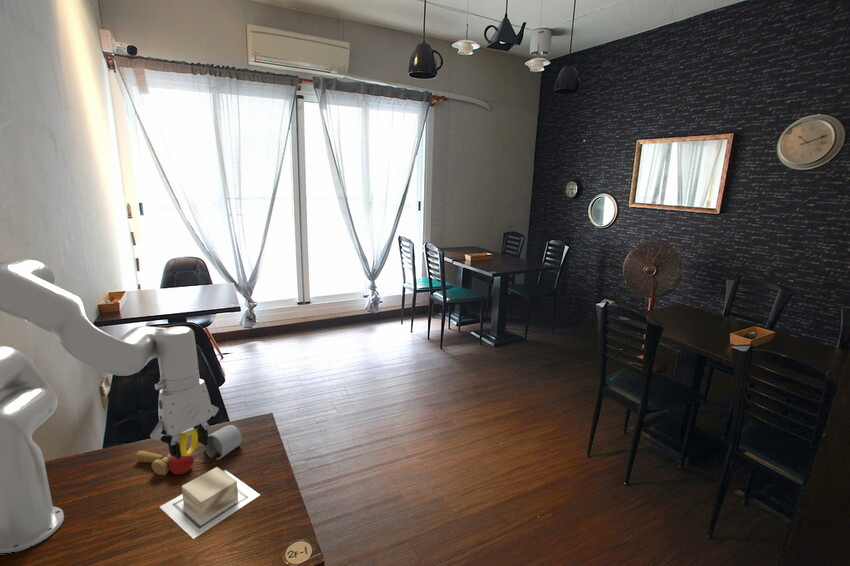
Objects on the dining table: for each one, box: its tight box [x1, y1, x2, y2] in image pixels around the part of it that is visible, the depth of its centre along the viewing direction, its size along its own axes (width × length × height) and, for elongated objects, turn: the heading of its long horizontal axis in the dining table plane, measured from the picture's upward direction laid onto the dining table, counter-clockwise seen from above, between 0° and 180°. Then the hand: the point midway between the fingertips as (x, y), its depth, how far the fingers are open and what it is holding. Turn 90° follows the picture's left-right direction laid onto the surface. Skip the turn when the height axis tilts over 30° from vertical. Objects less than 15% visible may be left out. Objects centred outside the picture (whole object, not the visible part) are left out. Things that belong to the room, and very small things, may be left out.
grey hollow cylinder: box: [203, 424, 243, 460], centre depth 123 cm, size 11×8×8 cm
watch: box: [179, 427, 199, 456], centre depth 98 cm, size 6×3×6 cm, turn 2°
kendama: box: [134, 450, 195, 476], centre depth 115 cm, size 8×6×18 cm
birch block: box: [181, 466, 238, 520], centre depth 103 cm, size 9×9×5 cm
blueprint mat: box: [159, 469, 261, 540], centre depth 104 cm, size 17×16×1 cm
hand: (190, 449), depth 98 cm, fingers closed on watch, 5 cm apart
